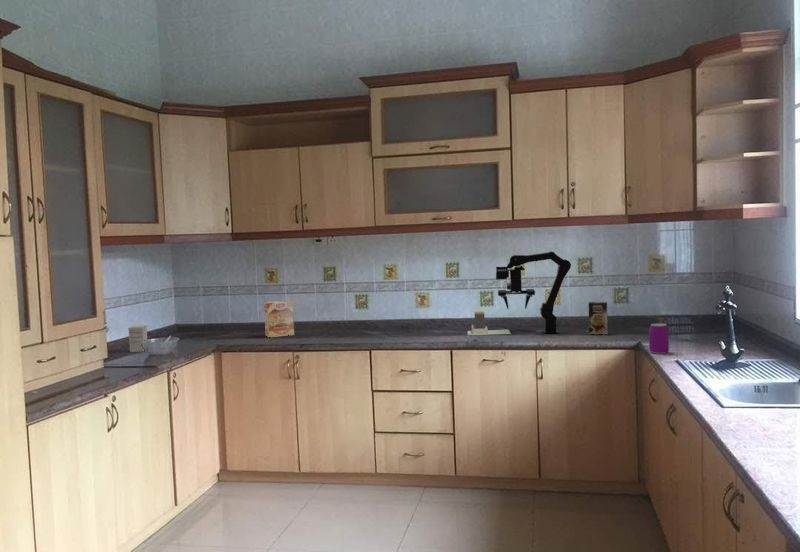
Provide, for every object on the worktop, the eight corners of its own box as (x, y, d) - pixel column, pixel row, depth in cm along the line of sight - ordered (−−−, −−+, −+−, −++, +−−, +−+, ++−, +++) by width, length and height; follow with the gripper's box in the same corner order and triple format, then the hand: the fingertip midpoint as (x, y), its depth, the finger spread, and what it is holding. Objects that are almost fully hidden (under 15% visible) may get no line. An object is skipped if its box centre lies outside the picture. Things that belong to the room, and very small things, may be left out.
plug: (484, 331, 364) (484, 311, 364) (485, 333, 360) (484, 312, 359) (475, 332, 365) (474, 311, 364) (475, 333, 360) (474, 312, 360)
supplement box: (134, 349, 361) (132, 325, 360) (148, 349, 362) (146, 325, 361) (129, 352, 354) (127, 327, 353) (144, 351, 354) (142, 326, 353)
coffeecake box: (269, 337, 384) (267, 302, 382) (265, 336, 390) (263, 302, 389) (294, 335, 391) (293, 300, 390) (290, 333, 397) (288, 299, 396)
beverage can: (645, 351, 296) (645, 324, 295) (661, 350, 298) (661, 322, 297) (656, 354, 288) (655, 326, 288) (672, 353, 290) (672, 324, 289)
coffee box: (588, 335, 347) (588, 303, 346) (589, 333, 353) (588, 301, 352) (607, 335, 345) (607, 302, 344) (607, 333, 351) (607, 301, 350)
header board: (508, 332, 368) (508, 322, 368) (510, 336, 354) (510, 326, 354) (467, 333, 370) (467, 323, 370) (467, 337, 356) (467, 327, 356)
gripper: (532, 277, 367) (533, 306, 368) (496, 278, 368) (497, 307, 369) (534, 278, 356) (535, 309, 357) (498, 280, 357) (499, 310, 358)
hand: (516, 308), depth 361 cm, fingers open, 9 cm apart
